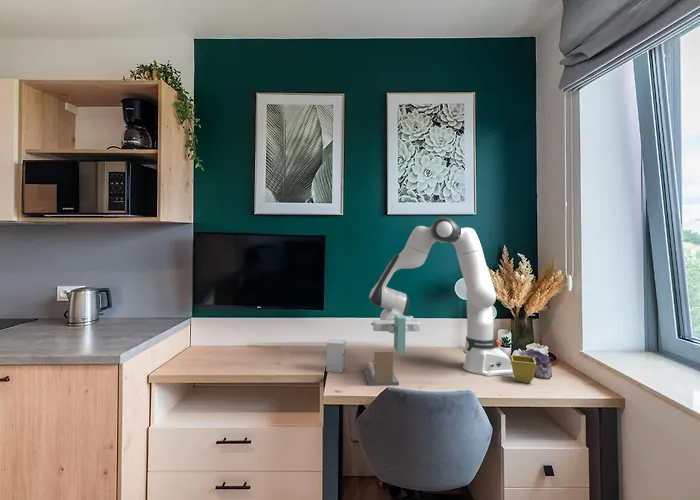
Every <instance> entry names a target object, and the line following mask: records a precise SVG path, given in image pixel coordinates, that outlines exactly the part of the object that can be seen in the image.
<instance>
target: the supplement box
mask: <svg viewBox="0 0 700 500" xmlns="http://www.w3.org/2000/svg"><path fill="white" fill-rule="evenodd" d="M346 342H347V341H346V339H338V338H337V339H335V338H331V339H329V340H328V341H327V342H326V352H325V353H326V357H325V358H326V359H325V372H329V371H330V372H329V373H339V372H341V373H343V371H344V370H345V368H346V357H347V356H346V352H347V351H346V350H347V349H346V348H347V347H346V346H347V344H346Z"/></svg>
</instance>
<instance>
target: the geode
mask: <svg viewBox="0 0 700 500" xmlns="http://www.w3.org/2000/svg"><path fill="white" fill-rule="evenodd" d="M518 356H526V357H533V358H534V360H535V362H536V368H535V374H534V377H536V378H537V379H540V380H550V379H551V378H552V377H553V371H552V370H553V368H552V364H551V363H552V362H551V359H552V357H548V355H547V354H544V353H542V352H541V351H539V350H538V349H537V350H534V349H533V348H531V349H528V350H524V349H523V350H521V352H520V354H519V355H518Z"/></svg>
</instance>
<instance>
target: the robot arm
mask: <svg viewBox="0 0 700 500" xmlns="http://www.w3.org/2000/svg"><path fill="white" fill-rule="evenodd" d="M406 241H407V242H406V243H405V246H404V248H403V249H402V251H401V252H400V253H396V254H394V255H393V257H392V258H390V260H389V262H388V263H387V265H386V267H385V269H384V270H383V272H382V273H381V275H380V277H379V279H378V280H377V281H376V283H375V284H374V287H372V288H371V291H370V293H369V296H368V299H369V301H370V303H371V304H372V306H375V307H378V308H382V311H381V313H380V316H379V319H374V320H373V322H370V326H372V330H373V331H374V332H388V333H390V334H394V332H396V327H394V320H395V315H403V316H404V317H405V318H406V331H405V333H407V332H420V331H421V322H420V321H419V320H418V319H416V318H414V316H413V315H407V313H408V311H409V307H410V299H409V296H408V295H407V293H404V292H403V291H398V290H395V289H393V288H390V287H388V286H387V285H388V283H389V282H390V280H391V278H392V277H393V276H394V273H395V272H396V271H398V270H401V269H403V270H404V269H416V268H419V267H421V266H423V265H424V264H425V262H426V260H427V258H428V256H429V253H430V251H431V248H432V246H433V244H434V243H443V244H444V243H451V244H452V245H453V246H454V248H455V251H456V252H455V253H456V257H457V259H458V264H459V267H460V271H461V274H462V278H463V280H464V285H465V287H466V294H465V295H466V318H467V319H466V320H467V322H466V323H467V324H466V326H467V327H466V337H465V350H466V351H465V357H464V361H463V365H462V369H463V370H465V371H468V372H470V373H474V374H479V375H482V376H486V377H491V376H492V377H493V376H504V375H505V376H506V375H512V374H513V370H512V362H511V357H509V356H508V354H507V353H505V352H504V351H503V350H501V348H499V347H498V346H501V345H502V341H501V340H499V339H496V338H494V316H493V305H494V304H495V303H496V300H497V293H496V290H495V287H494V283H493V281H492V278H491V274H490V272H489V269H488V266H487V262H486V259H485V255H484V250H483V247H482V245H481V242H480V238H479V237H478V234H477V233H476V230H475V229H474V228H471V227H460V226H459V225H458V224H457V223H456V222H455V221H454V220H453V218H452V219H451V218H449V217H440V218H438V219H436V220H435V221H434V222H433V223H432V225H431V226H424V225H418V226H416V227H415V228H413V230H412V232H411V233H410V235H409V237H408V239H407V240H406ZM513 375H514V374H513Z"/></svg>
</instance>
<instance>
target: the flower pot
mask: <svg viewBox="0 0 700 500" xmlns="http://www.w3.org/2000/svg"><path fill="white" fill-rule="evenodd" d="M510 361H511V366H512V370H513V377H514V379H515V381H516V382H519V383H528V384H530V383H531V382H532V381H533V379H534V377H535V368H536V362H535V360H534V358H533V357H526V356H519V355H514V354H513V355H510Z"/></svg>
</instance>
